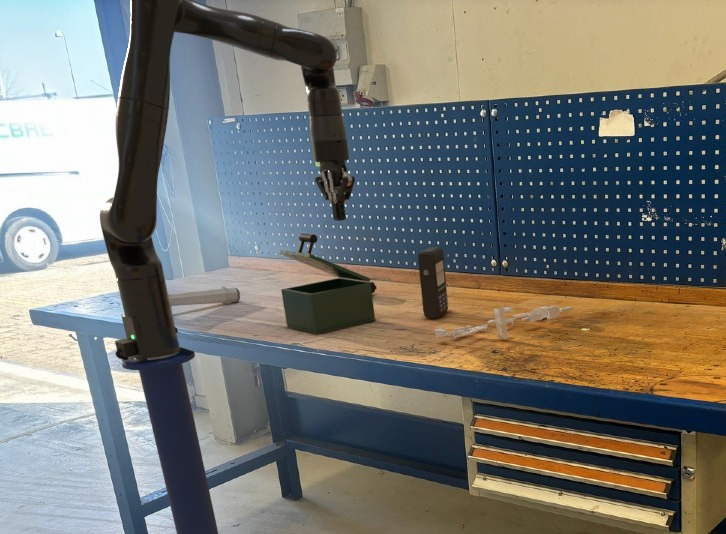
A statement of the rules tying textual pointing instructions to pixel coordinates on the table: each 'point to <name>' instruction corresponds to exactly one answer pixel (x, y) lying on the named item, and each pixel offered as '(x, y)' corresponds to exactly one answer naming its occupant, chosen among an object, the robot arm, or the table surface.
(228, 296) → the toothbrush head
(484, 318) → the table surface
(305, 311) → the bin
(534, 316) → the grey elongated piece
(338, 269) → the bin lid
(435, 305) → the card reader
